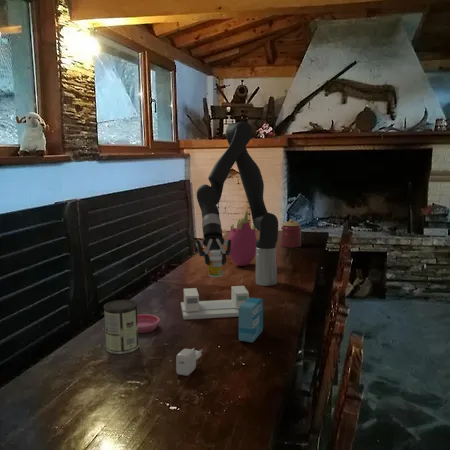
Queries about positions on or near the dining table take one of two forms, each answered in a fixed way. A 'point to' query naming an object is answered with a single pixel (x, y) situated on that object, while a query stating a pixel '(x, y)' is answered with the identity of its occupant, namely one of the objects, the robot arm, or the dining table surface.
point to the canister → (291, 234)
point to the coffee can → (121, 326)
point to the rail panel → (213, 304)
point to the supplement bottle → (215, 264)
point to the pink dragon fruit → (243, 242)
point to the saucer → (147, 323)
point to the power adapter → (187, 361)
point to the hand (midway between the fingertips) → (216, 263)
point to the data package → (250, 319)
